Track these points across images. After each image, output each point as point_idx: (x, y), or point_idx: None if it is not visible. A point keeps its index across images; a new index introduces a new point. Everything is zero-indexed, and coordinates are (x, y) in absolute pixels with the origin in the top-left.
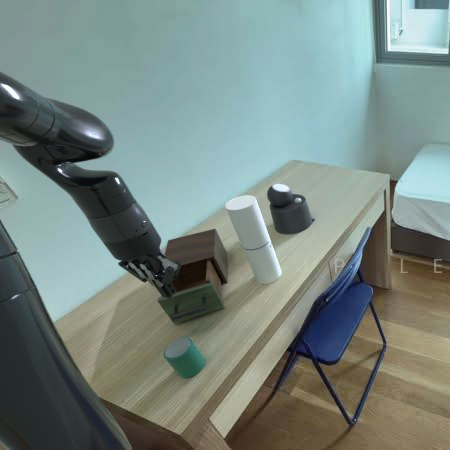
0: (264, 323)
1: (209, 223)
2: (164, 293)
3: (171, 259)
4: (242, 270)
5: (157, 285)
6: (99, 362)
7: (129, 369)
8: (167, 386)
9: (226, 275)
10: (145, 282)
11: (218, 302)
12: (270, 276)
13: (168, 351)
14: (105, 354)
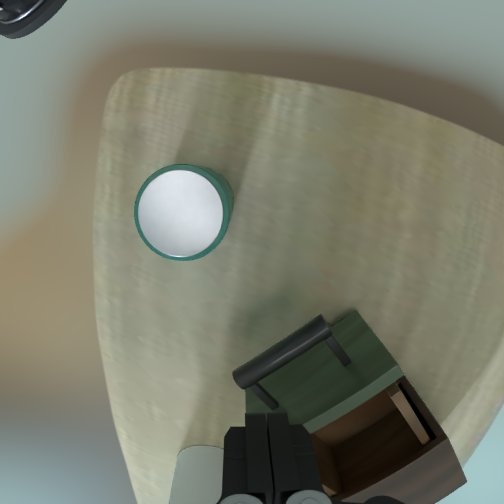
0: (107, 351)
1: None
2: (251, 442)
3: (435, 467)
4: None
5: (282, 494)
6: (455, 175)
7: (375, 164)
8: (225, 137)
9: None
10: (366, 501)
11: (250, 395)
12: (180, 464)
13: (201, 191)
14: (459, 196)
